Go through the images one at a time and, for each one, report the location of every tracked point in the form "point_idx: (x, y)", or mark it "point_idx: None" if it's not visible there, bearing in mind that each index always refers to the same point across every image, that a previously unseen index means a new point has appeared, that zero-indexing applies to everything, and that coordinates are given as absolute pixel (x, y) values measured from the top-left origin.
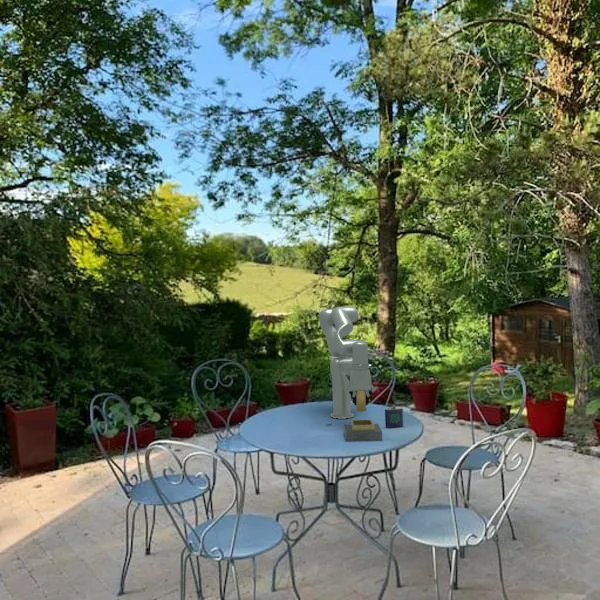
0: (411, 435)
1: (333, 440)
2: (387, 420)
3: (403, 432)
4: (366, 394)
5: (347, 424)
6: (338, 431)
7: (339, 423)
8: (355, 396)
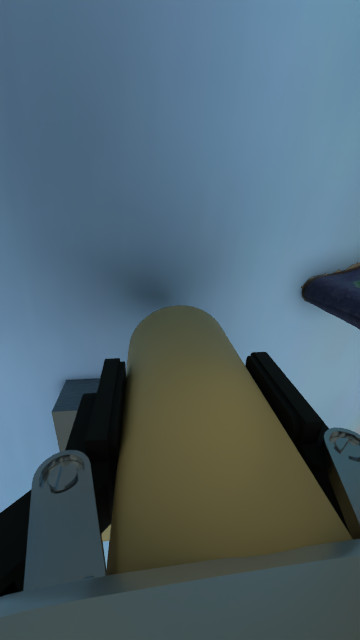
0: (356, 414)
1: (27, 479)
2: (336, 316)
3: (347, 375)
4: (324, 470)
5: (74, 411)
6: (29, 351)
7: (3, 132)
8: (114, 457)
